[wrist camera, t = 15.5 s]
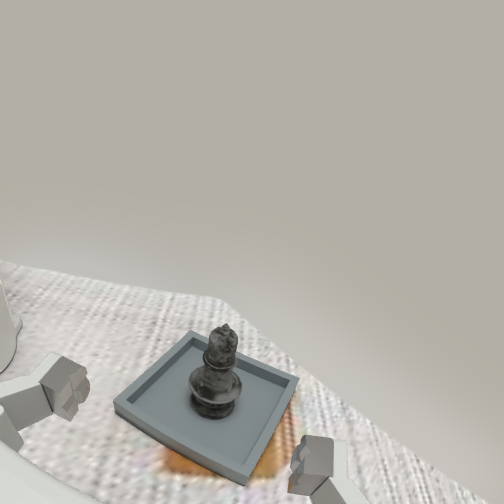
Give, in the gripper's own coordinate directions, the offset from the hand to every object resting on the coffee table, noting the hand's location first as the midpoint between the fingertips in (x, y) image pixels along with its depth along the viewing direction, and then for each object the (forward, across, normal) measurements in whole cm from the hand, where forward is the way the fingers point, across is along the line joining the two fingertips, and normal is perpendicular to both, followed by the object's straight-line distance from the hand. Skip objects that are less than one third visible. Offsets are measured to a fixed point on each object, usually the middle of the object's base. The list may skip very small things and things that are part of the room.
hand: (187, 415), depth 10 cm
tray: (+17, -1, -22) cm, 28 cm away
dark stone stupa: (+17, -1, -21) cm, 27 cm away
